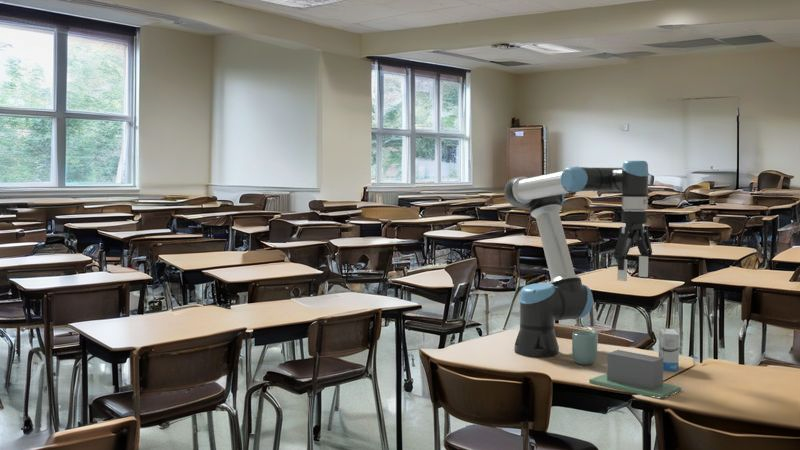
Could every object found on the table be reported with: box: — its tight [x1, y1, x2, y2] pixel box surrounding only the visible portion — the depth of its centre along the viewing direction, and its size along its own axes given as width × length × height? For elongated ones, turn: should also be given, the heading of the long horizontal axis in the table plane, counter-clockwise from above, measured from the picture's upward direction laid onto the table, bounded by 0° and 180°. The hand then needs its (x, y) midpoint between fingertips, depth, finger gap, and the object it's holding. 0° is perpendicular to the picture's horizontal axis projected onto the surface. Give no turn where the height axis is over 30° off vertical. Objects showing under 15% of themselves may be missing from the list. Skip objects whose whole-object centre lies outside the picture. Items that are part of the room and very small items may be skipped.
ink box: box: [658, 328, 680, 372], centre depth 225 cm, size 8×5×12 cm, turn 168°
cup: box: [571, 330, 599, 366], centre depth 230 cm, size 8×8×10 cm
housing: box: [606, 349, 664, 390], centre depth 204 cm, size 14×6×8 cm, turn 44°
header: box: [588, 372, 682, 398], centre depth 204 cm, size 22×12×6 cm, turn 44°
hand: (632, 278), depth 221 cm, fingers open, 13 cm apart
